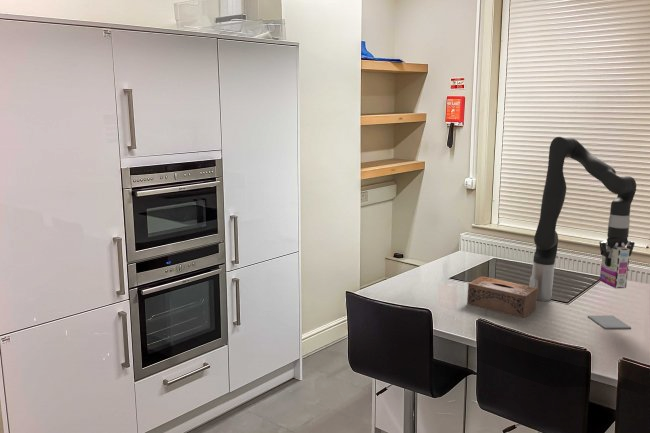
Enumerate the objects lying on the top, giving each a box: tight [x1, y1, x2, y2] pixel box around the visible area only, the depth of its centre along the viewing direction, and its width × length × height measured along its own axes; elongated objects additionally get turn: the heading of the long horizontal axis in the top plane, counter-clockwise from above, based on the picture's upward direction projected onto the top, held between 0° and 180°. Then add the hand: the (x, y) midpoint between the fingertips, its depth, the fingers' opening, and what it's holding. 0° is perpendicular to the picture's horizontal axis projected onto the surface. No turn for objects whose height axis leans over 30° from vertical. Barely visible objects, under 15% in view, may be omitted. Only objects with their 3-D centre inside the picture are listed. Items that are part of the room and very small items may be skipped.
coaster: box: [587, 315, 632, 330], centre depth 229 cm, size 11×13×1 cm
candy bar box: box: [599, 244, 631, 289], centre depth 226 cm, size 11×5×16 cm, turn 6°
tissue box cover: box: [466, 276, 538, 319], centre depth 246 cm, size 26×14×10 cm, turn 51°
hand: (614, 265), depth 226 cm, fingers closed on candy bar box, 5 cm apart
